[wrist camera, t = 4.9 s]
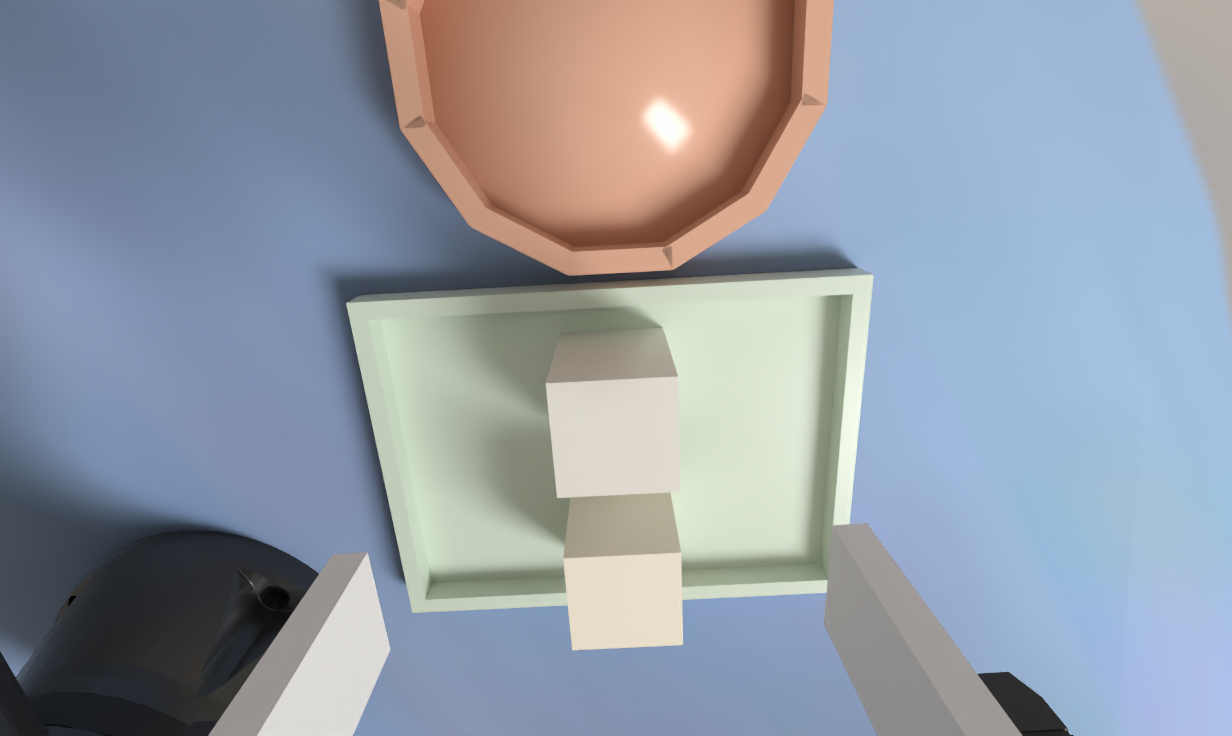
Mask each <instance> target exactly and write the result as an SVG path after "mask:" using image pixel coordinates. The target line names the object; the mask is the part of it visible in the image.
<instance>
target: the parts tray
mask: <svg viewBox="0 0 1232 736" xmlns="http://www.w3.org/2000/svg"><path fill="white" fill-rule="evenodd" d="M873 276H874V274H871V273H869V272H867V271H864V270H862V269H860V268H849V269H830V270H812V271H793V272H775V273H756V274H738V275H719V276H700V277H682V278H663V279H645V280H626V281H608V282H589V283H571V284H552V285H534V286H515V287H497V288H478V289H460V290H441V291H423V292H404V293H385V294H367V295H360V296H358V297H356V298H354V299H353V300H351V301H349V302H347V303H346V305H347V310H348V314H349V319H350V324H351V328H352V333H353V338H354V342H355V347H356V352H357V356H358V361H359V366H360V370H361V375H362V380H363V384H364V389H365V394H366V398H367V403H368V408H369V412H370V417H371V422H372V426H373V431H374V436H375V440H376V445H377V450H378V454H379V459H380V464H381V468H382V473H383V478H384V482H385V487H386V492H387V496H388V501H389V506H390V510H391V515H392V520H393V525H394V529H395V534H396V539H397V543H398V548H399V553H400V557H401V562H402V567H403V571H404V576H405V581H406V585H407V590H408V595H409V599H410V604H411V609H412V613H420V612H441V611H461V610H482V609H502V608H523V607H543V606H564V605H568V602H567V592H566V582H565V572H564V562H563V556H564V547H565V539H566V531H567V522H568V514H569V505H570V497H569V498H557V492H556V482H555V472H554V462H553V452H552V442H551V432H550V422H549V412H548V402H547V392H546V380H547V377H548V373H549V370H550V367H551V363H552V360H553V356H554V353H555V350H556V346H557V343H558V339H559V336H560V333H568V332H586V331H605V330H624V329H643V328H662V327H663V330H664V333H665V336H666V339H667V342H668V346H669V349H670V352H671V355H672V358H673V361H674V365H675V368H676V371H677V374H678V392H679V449H680V492H670V493H671V498H672V504H673V509H674V515H675V521H676V526H677V532H678V537H679V543H680V548H681V563H682V600H686V599H707V598H727V597H748V596H768V595H789V594H809V593H827V582H828V570H829V559H830V547H831V535H832V525H847V524H849V522H850V511H851V501H852V491H853V481H854V471H855V460H856V450H857V440H858V430H859V419H860V409H861V399H862V389H863V378H864V368H865V358H866V348H867V337H868V327H869V317H870V307H871V296H872V286H873Z"/></svg>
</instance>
